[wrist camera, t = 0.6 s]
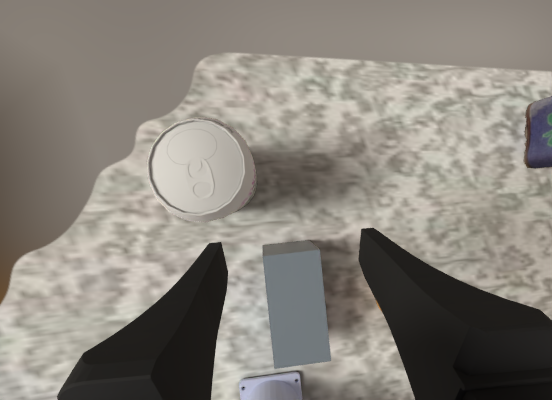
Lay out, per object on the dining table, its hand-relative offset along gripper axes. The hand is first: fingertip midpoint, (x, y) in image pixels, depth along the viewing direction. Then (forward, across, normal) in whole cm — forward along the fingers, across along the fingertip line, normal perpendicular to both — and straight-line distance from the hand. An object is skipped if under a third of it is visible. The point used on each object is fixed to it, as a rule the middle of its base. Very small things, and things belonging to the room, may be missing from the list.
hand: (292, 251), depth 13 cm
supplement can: (+21, +7, +5) cm, 22 cm away
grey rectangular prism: (+14, 0, +18) cm, 23 cm away
